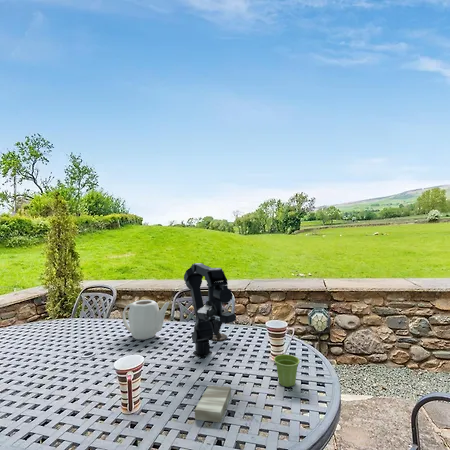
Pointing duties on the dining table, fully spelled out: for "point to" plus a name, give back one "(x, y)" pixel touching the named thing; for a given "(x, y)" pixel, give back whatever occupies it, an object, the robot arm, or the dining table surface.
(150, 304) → the white lidless teapot
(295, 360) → the plant pot
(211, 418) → the tile
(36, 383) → the dining table surface
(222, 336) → the candlestick
